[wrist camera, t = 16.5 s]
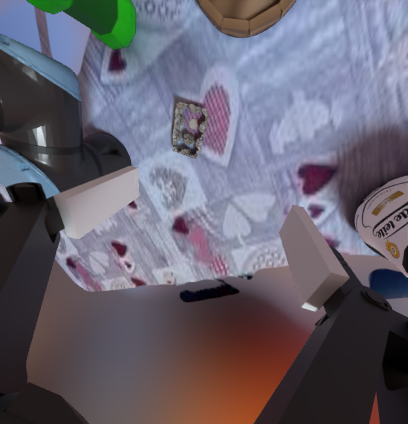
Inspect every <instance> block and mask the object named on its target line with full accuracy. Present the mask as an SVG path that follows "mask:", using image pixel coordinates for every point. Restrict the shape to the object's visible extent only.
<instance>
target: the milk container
mask: <svg viewBox="0 0 408 424" xmlns="http://www.w3.org/2000/svg"><path fill="white" fill-rule="evenodd" d="M355 227H356V230H357V232H358V234H359V236H360V238H361V239H362V240H363V242H364V243H365V244H366V245H367V246H368V247H369V248H370V249H371V250H373V251H374V252H376V253H377V254H379V255H380V256H382V257H384V258H386V259H388V260H390V261H391V262H392V263H394V264H395V265H396V266H397V267H398V269H399V270H400V271H401V272H402V273H403V274H404V275H405V276H406V277H408V175H407V176H403V177H400V178H397V179H394V180H391V181H389V182H387V183H385V184H383V185H381V186H379V187H378V188H376V189H375V190H373V191H372V192H371V193H370V194H369V195H368V196H366V197H365V198H364V200H363V201H362V202H361V203H360V205H359V207H358V209H357V211H356V215H355Z"/></svg>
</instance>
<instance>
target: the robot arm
mask: <svg viewBox="0 0 408 424" xmlns="http://www.w3.org/2000/svg"><path fill="white" fill-rule="evenodd" d="M81 103H82V99H81V96H80V86H79V80H78V77H77V76H76V74H75V73H74V72H73V71H72V70H71V69H70V68H68V67H67V66H65V65H63V64H62V63H60V62H58V61H56V60H54V59H52V58H50V57H48V56H46V55H44V54H42V53H40V52H38V51H36V50H34V49H32V48H30V47H28V46H26V45H24V44H22V43H20V42H17V41H15V40H13V39H10V38H8V37H7V36H4V35H2V34H0V139H1V142H2V144H0V182H1V183H2V184H3V185H4V186H5V187H6V190H7V192H8V194H9V196H10V198H11V200H12V202H5V201H4V199H3V197H2V195H1V194H0V424H89V423H88V422H87V421H86V420H85V418H84V417H83V416H82V415H81V414H80V413H79V412H78V411H77V410H76V409H74V408H73V407H72V406H71V405H70V404H69V403H68V402H67V401H66V400H65V399H64V398H63V397H61V396H60V395H58V394H55V393H53V392H51V391H48V390H46V389H44V388H41V387H39V386H36V385H34V384H32V383H30V382H29V383H28V384H27V377H28V376H27V370H26V360H27V356H28V352H29V348H30V344H31V341H32V338H33V334H34V330H35V327H36V323H37V320H38V316H39V312H40V309H41V305H42V301H43V298H44V294H45V291H46V287H47V283H48V280H49V276H50V273H51V269H52V266H53V262H54V258H55V255H56V251H57V248H58V244H59V240H60V233H59V231H61V230H62V229H64V228H65V231H66V234H67V236H68V237H72V238H75V239H80V238H81V237H83V236H84V235H85V234H87V233H88V232H90V231H91V230H92V229H94V228H95V227H97V226H98V225H100V224H101V223H102V222H104V221H105V220H107V219H108V218H109V217H111V216H112V215H114V214H115V213H116V212H118V211H119V210H121V209H122V208H124V207H125V206H126V205H128V204H129V203H131V202H132V201H133V200H135V199H136V198H138V197H139V179H138V168H137V167H133V166H131V160H130V157H129V154H128V152H127V150H126V149H125V147H124V146H123V145H122V144H121V142H120V141H118V140H117V139H116V138H114V137H113V136H111V135H108V134H93V135H90V136H88V137H86V138H84V139H83V132H82V107H81ZM279 234H280V237H281V240H282V244H283V247H284V251H285V254H286V257H287V261H288V264H289V267H290V271H291V274H292V278H293V281H294V284H295V288H296V291H297V295H298V298H299V301H300V305H301V307H302V308H306V309H309V310H312V311H315V312H317V311H318V310H319V309H320V308H321V307H322V306H324V308H325V311H326V314H325V315H324V316H323V317H322V318H321V319H320V320H319V321H318V322H317V323H316V324H315V325H316V328H315V329H314V331H313V332H312V334H311V335H310V337H309V339H308V340H307V342H306V343H305V345H304V346H303V348H302V350H301V351H300V353H299V354H298V356H297V357H296V359H295V360H294V362H293V363H292V365H291V367H290V368H289V370H288V371H287V373H286V375H285V376H284V377H283V379H282V380H281V382H280V384H279V385H278V387H277V388H276V390H275V392H274V393H273V394H272V396H271V398H270V399H269V401H268V402H267V404H266V405H265V407H264V409H263V410H262V412H261V413H260V415H259V416H258V418H257V419H256V421H255V422H254V424H369V421H370V417H371V412H372V407H373V402H374V398H375V394H376V393H377V400H378V411H379V419H380V424H408V317H406V316H404V315H402V314H400V313H398V312H396V311H394V310H392V307H391V306H390V304H389V303H388V302H387V301H386V300H385V299H384V298H383V297H382V296H381V295H380V294H378V293H377V292H376V291H374V290H372V289H370V288H369V287H366V286H363V285H362V284H361V283H360V281H359V280H358V278H357V277H356V275H355V274H354V273H353V271H352V270H351V268H350V267H348V264H347V263H346V261H344V258H343V257H342V256H341V254H340V253H339V252H338V251H337V250H336V249H335V248H334V247H332V246H330V245H328V244H327V242H326V241H325V239H324V238H323V236H322V235H321V233H320V232H319V230H318V229H317V227H316V226H315V224H314V223H313V221H312V220H311V218H310V217H309V215H308V214H307V212H306V211H305V209H304V208H303V207H300V206H296V205H293V206H292V208H291V210H290V212H289V214H288V216H287V218H286V220H285V222H284V224H283V226H282V228H281V230H280V232H279Z"/></svg>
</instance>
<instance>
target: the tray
mask: <svg viewBox="0 0 408 424" xmlns="http://www.w3.org/2000/svg"><path fill="white" fill-rule="evenodd" d="M198 1H199V4H200V6H201V9H202V11H203V12H204V13H205V14H206V15H207V16H208V18H209V20H210V21H211V22H212V24H213V25H214V26H215V27H216V28H217V29H218V30H220V31H221V32H223V33H224V34H226V35H229V36H232V37H236V38H245V37H251V36H254V35H257V34H260V33H262V32H264V31H266V30H267V29H269V28H270V27H272V26H273V25H274V24H275V23H277V22H278V21H279V20H280V19H281V18H282V17H283V16H284V15H285V14H286V13H287V12H288V11H289V9H290V8H291V7H292V6H293V4H294V3H295V2H296V0H198Z"/></svg>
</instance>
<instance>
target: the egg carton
mask: <svg viewBox="0 0 408 424" xmlns="http://www.w3.org/2000/svg"><path fill="white" fill-rule="evenodd" d="M188 105H189V109H190V111H191V112H193V113H199V112H200V111H201V109H202V113H203V114H204V115H205V121H204V122H202V123H201V124H200V127H199V130H200V132H202V133H203V134H202V135H201V137H202V138H201V137H200V138H198V139H197V141H196V142H195V137H194V135H192V134H184V135H183V141H184V143H185V144H187V145H189V144H193V143H194V142H195V145H196V147H197V148H198V150H197V151H196V153H195V154H194V155H193V154H192V151H191V149H189V148H186V149H182V150H181V151H180V147H179V146H178V145H177V141H178V140H181V139H182V132H181V131H180V126H182V125H183V124H184V123H185V118H184V117H183V115H182V111H183V110H185V109H186V108H187V106H188ZM208 121H209V117H208V114H207V109H203V108H201V107H196V105H193V104H185V103H182V102H177V106H176V111H175V122H174V129H173V148H172V150H173V151H175V152H178V153H180V154H183V155H186V156H188V157H192V158H196V157H197V155H198V153H200V152H202V148H201V145H202V140H203V138H205V130H206V126H207V122H208ZM189 126H190V128H191V129H196V128H197V126H198V122H197V120H196V119H194V118H193V119H191V120H190V121H189Z"/></svg>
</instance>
